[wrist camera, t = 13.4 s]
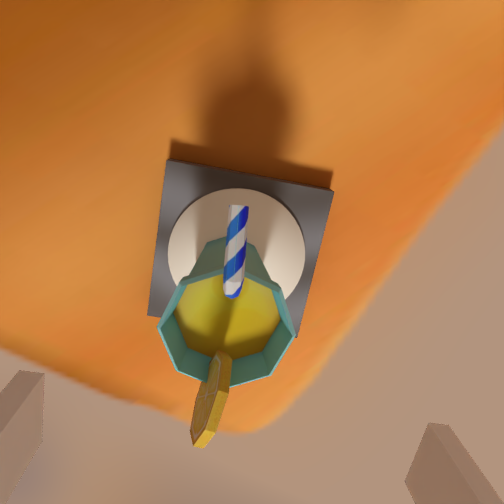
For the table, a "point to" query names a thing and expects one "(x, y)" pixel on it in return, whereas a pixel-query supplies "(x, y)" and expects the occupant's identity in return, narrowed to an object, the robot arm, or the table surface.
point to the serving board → (258, 233)
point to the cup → (225, 323)
